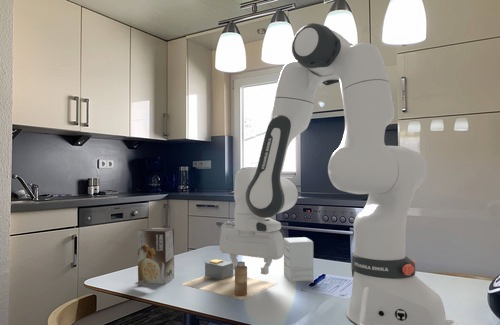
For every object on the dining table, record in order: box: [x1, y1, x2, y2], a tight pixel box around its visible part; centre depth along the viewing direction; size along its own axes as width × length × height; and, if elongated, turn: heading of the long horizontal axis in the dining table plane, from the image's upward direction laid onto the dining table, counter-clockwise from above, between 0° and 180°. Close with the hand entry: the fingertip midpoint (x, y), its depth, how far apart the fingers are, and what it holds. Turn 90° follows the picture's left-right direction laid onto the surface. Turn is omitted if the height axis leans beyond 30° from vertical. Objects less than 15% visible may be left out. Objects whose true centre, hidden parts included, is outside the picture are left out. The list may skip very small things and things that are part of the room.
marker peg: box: [234, 261, 248, 296], centre depth 97 cm, size 3×3×8 cm
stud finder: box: [204, 258, 234, 280], centre depth 113 cm, size 7×5×4 cm
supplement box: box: [283, 236, 315, 283], centre depth 112 cm, size 7×7×13 cm
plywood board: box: [180, 274, 277, 301], centre depth 105 cm, size 22×16×1 cm
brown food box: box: [137, 227, 175, 287], centre depth 110 cm, size 9×6×16 cm
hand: (250, 271), depth 106 cm, fingers open, 8 cm apart
